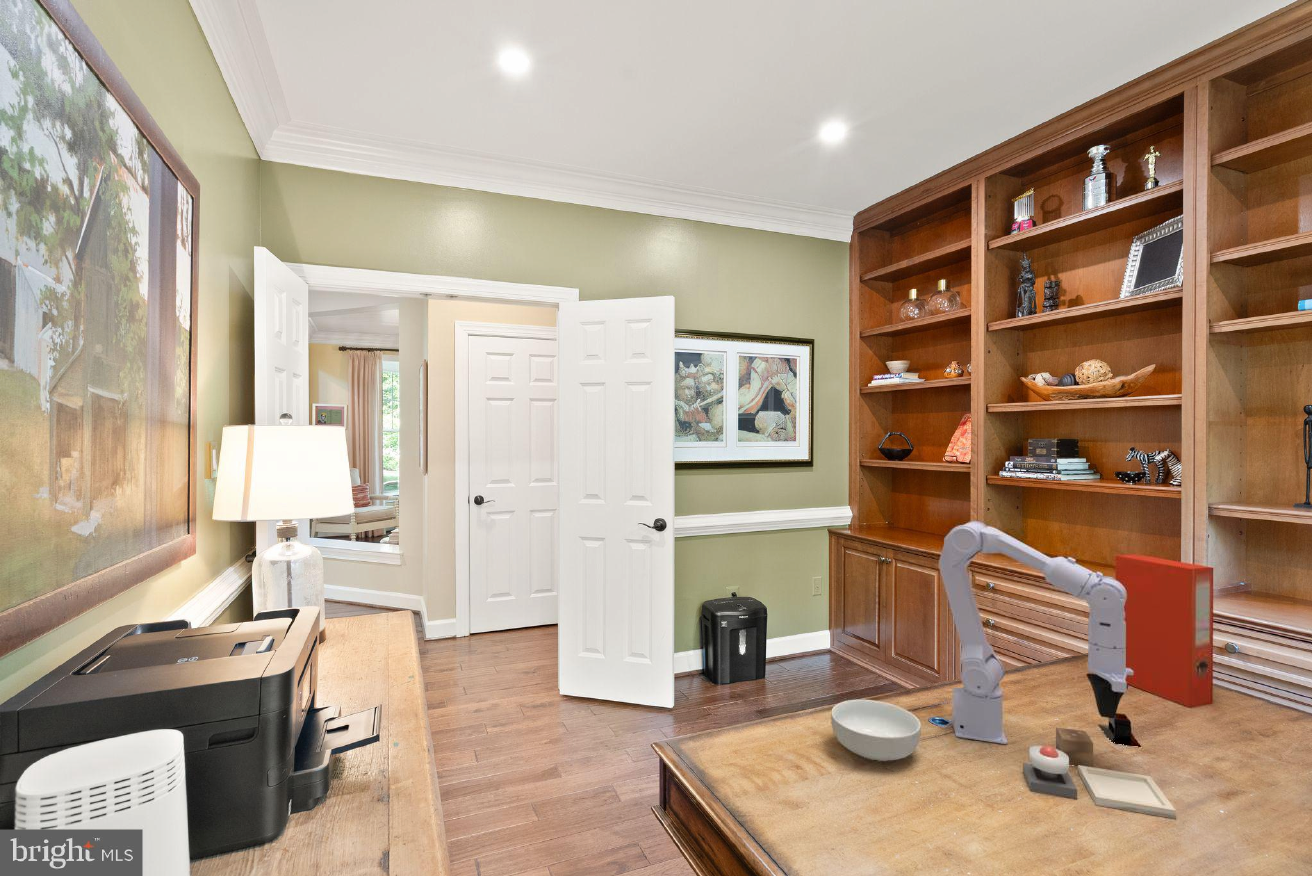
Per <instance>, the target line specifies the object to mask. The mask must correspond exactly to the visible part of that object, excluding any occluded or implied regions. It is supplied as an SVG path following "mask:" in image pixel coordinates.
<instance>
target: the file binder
mask: <svg viewBox="0 0 1312 876" xmlns="http://www.w3.org/2000/svg"><path fill="white" fill-rule="evenodd" d="M1114 579H1115V580H1116V581H1118V582H1120V583H1121V584H1122V585H1123V586H1124V588H1125V590H1126V593H1127V599H1126V601H1125V606H1124V612H1125V619H1124V620H1125V622H1126V668H1130V669H1131V670H1132V671H1133V675H1127V677H1126V680H1125V681H1126V682H1127V685H1128V686H1131V687H1134V688H1136V689H1140V690H1142V691H1145V692H1147V693H1151V694H1152V695H1153V694H1154V695H1156V696H1158V697H1161V698H1164V699H1166V700H1169V701H1172V702H1175V703H1178V704H1180V705H1183V706H1186V707H1188V708H1196V707H1201V706H1208V705H1209V706H1210V705H1213V704H1214V703H1213V702H1214V701H1213V699H1214V690H1213V689H1214V688H1213V687H1214V567H1211V566H1207V565H1200V564H1195V563H1189V562H1182V561H1176V560H1171V559H1165V558H1160V557H1153V556H1149V555H1148V556H1147V555H1142V554H1138V553H1137V554H1135V553H1133V554H1119V555H1115V578H1114Z"/></svg>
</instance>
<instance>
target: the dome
mask: <svg viewBox="0 0 1312 876" xmlns="http://www.w3.org/2000/svg"><path fill="white" fill-rule="evenodd" d="M1029 764H1032V765H1033V766H1034V767H1036V768H1038V769H1040V770H1041V774H1042V775H1044V776H1046V777H1049V778H1056V777H1057V774H1064V773H1067V772H1068V773H1069V771H1070V766H1069V757H1068V756H1067V755H1066V754H1065V753H1064V752H1062V751H1060V750H1058V749H1056V747H1053V746H1050V745H1032V746H1030V748H1029Z"/></svg>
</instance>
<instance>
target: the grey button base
mask: <svg viewBox="0 0 1312 876" xmlns="http://www.w3.org/2000/svg"><path fill="white" fill-rule="evenodd" d="M1022 773H1023V775H1024V777H1025V780H1026V783H1027V785H1028V788H1029V790H1030V792H1034V793H1035V792H1036V793H1041V794H1047V795H1052V796H1057V797H1064V798H1070V799H1076V800H1077V799H1078V788H1077V787H1076V784H1075V783H1074V781H1073V779H1072V777H1071V775H1070V774H1069V771H1068V772H1067V773H1064V774H1057V777H1056V778H1049V777H1046V776H1044V775H1042V774H1041V770H1040V769H1038V768H1036V767H1034V766H1033V765H1032V764H1031V763H1030V762H1028V763H1027V762H1022Z"/></svg>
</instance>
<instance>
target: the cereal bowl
mask: <svg viewBox="0 0 1312 876" xmlns="http://www.w3.org/2000/svg"><path fill="white" fill-rule="evenodd" d="M830 721H831V727H832V731H833V734H834V736H835V737H836V739H837V740H838V742H839V743H840V744H841V745H842V746H843V747H845V748H846V749H847V750H849V751H851V752H852V753H854V754H856V755H860V756H859V757H861V756H862V757H861V758H863V757H864V758H863V759H866V758H868V759H867V760H869V759H871V760H870V761H873V760H878V761H877V762H881V761H883V762H888V761H887V760H890V761H896V760H900V759H904V758H906V757H908V756H910V755H911V754H913V752H915V751H916V750H917V748H918V746H919V743H920V739H921V733H922V724H921V722H920V720H919V719H918V717H917V716H916V715H915V714H913V713H912V712H910V711H909V710H907V709H905V708H903V707H900V706H897V705H894V704H892V703H888V702H885V701H879V700H872V699H849V700H845V701H841V702H839V703H837V704H835V705H834V706H833V707H832V710H831V712H830Z"/></svg>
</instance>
